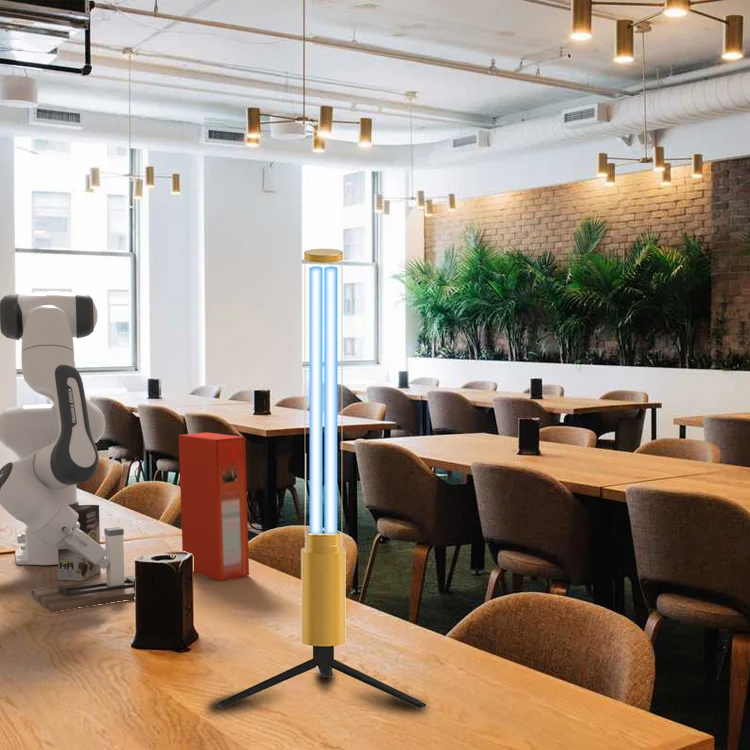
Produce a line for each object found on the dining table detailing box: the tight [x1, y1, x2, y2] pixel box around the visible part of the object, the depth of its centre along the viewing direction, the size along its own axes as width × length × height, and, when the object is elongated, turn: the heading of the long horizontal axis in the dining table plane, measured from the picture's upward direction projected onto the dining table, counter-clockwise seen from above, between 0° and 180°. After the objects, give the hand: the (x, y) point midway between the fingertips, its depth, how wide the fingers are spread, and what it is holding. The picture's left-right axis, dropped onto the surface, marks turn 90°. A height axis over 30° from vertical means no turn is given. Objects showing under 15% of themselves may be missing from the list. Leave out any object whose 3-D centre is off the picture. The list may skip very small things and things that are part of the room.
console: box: [31, 575, 135, 613], centre depth 223 cm, size 16×22×4 cm
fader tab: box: [103, 526, 125, 587], centre depth 225 cm, size 3×3×12 cm
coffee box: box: [57, 504, 102, 582], centre depth 242 cm, size 9×6×16 cm
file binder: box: [178, 431, 250, 582], centre depth 243 cm, size 8×17×32 cm, turn 38°
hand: (105, 565), depth 224 cm, fingers closed, pressing on fader tab
